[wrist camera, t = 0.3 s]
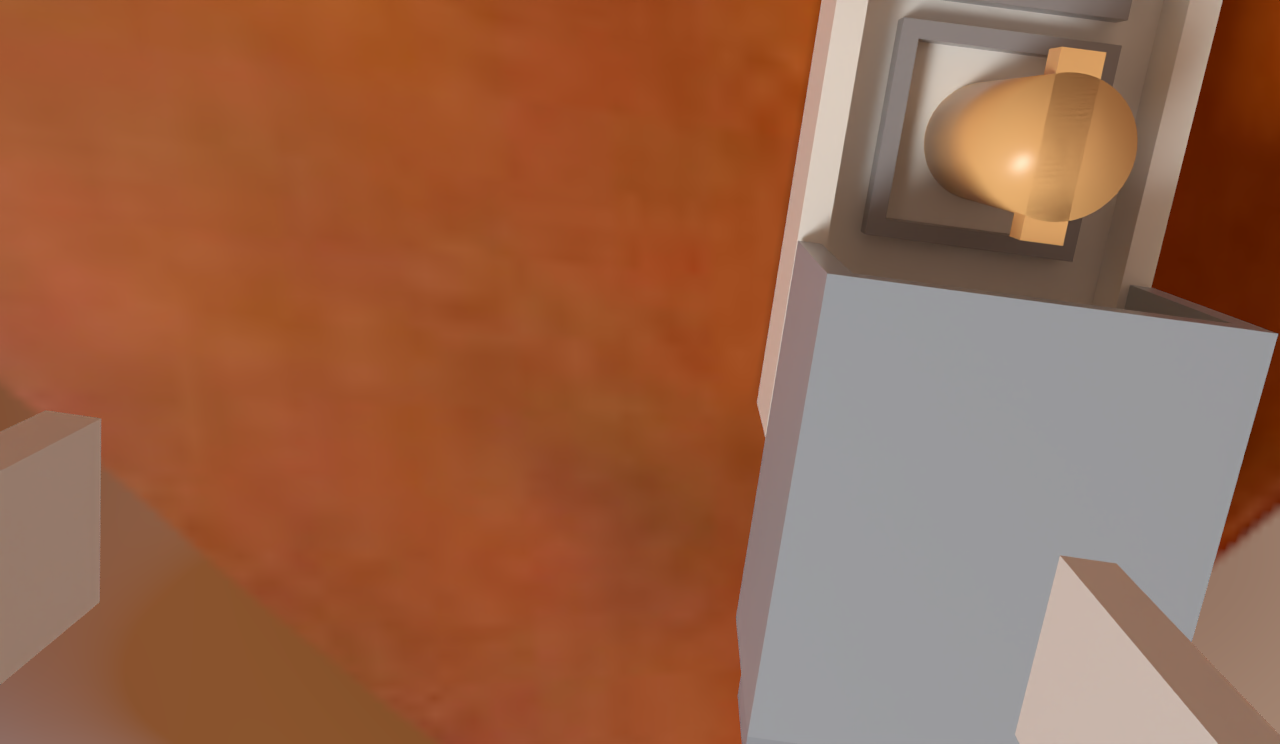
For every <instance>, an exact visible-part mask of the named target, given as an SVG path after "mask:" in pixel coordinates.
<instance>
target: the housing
mask: <svg viewBox="0 0 1280 744" xmlns="http://www.w3.org/2000/svg"><path fill="white" fill-rule="evenodd" d="M1222 1H1223V0H822V2H821V8H820V14H819V20H818V27H817V33H816V39H815V45H814V51H813V58H812V64H811V70H810V76H809V82H808V89H807V95H806V101H805V107H804V114H803V120H802V126H801V132H800V138H799V145H798V151H797V157H796V163H795V169H794V176H793V182H792V188H791V194H790V201H789V207H788V213H787V219H786V225H785V232H784V238H783V244H782V250H781V256H780V263H779V269H778V275H777V281H776V288H775V294H774V300H773V306H772V312H771V319H770V325H769V331H768V337H767V343H766V350H765V356H764V362H763V368H762V375H761V381H760V387H759V393H758V399H757V405H758V409H759V413H760V417H761V421H762V425H763V429H764V434H765V436H766V432H767V426H768V420H769V414H770V408H771V402H772V396H773V390H774V384H775V377H776V371H777V365H778V359H779V353H780V347H781V341H782V335H783V329H784V323H785V317H786V311H787V304H788V298H789V292H790V286H791V280H792V274H793V268H794V262H795V256H796V250H797V244H798V241H804V242H812V243H819V244H822V245H823V246H824V247H826V248H827V249H828V250H829V251H830V252H831V253H832V254H833V255H834V256H835V257H836V258H837V259H838V260H839V261H840V262H841V263H842V264H843V265H845V266H846V267H847V268H848V269H849V270H850V271H851V272H852V273H856V274H863V275H871V276H878V277H886V278H893V279H901V280H908V281H916V282H923V283H931V284H938V285H946V286H953V287H961V288H968V289H976V290H983V291H990V292H998V293H1005V294H1013V295H1020V296H1028V297H1035V298H1043V299H1050V300H1058V301H1065V302H1073V303H1080V304H1088V305H1095V306H1103V307H1110V308H1118V309H1124V308H1125V304H1126V300H1127V296H1128V292H1129V287H1130V285H1135V286H1142V287H1150V288H1151V287H1152V283H1153V279H1154V275H1155V271H1156V267H1157V263H1158V259H1159V255H1160V250H1161V246H1162V242H1163V238H1164V234H1165V230H1166V226H1167V222H1168V218H1169V214H1170V210H1171V206H1172V202H1173V198H1174V194H1175V190H1176V186H1177V182H1178V178H1179V174H1180V170H1181V166H1182V162H1183V158H1184V154H1185V150H1186V146H1187V142H1188V138H1189V134H1190V130H1191V126H1192V122H1193V118H1194V114H1195V110H1196V106H1197V102H1198V98H1199V94H1200V90H1201V86H1202V82H1203V78H1204V74H1205V70H1206V66H1207V62H1208V58H1209V54H1210V50H1211V46H1212V41H1213V37H1214V33H1215V29H1216V25H1217V21H1218V17H1219V13H1220V9H1221V5H1222ZM1057 47H1069V48H1077V49H1084V50H1092V51H1100V52H1107V53H1106V57H1105V62H1104V66H1103V71H1102V75H1101V80H1103V81H1105V82H1106V83H1108V84H1109V85H1111V86H1112V87H1113V88H1115V89H1116V90H1117V91H1118V92H1119V93H1120V94H1121V96H1122V97H1123V98H1124V99H1125V101H1126V102H1127V104H1128V106H1129V107H1130V109H1131V111H1132V114H1133V117H1134V119H1135V123H1136V128H1137V137H1138V141H1137V152H1136V158H1135V161H1134V165H1133V168H1132V170H1131V172H1130V175H1129V177H1128V178H1127V180H1126V182H1125V183H1124V185H1123V187H1122V188H1121V189H1120V190H1119V192H1118V193H1117V194H1116V195H1115V196H1114V197H1113V198H1112V199H1111V200H1110V201H1109V202H1108V203H1107V204H1105V205H1104V206H1103V207H1101V208H1100V209H1098V210H1097V211H1095V212H1093V213H1091V214H1089V215H1087V216H1085V217H1082V218H1079V219H1076V220H1071V221H1068V226H1067V230H1066V234H1065V239H1064V243H1063V246H1060V245H1052V244H1045V243H1037V242H1030V241H1022V240H1018V239H1015V238H1013V237H1010V236H1009V235H1010V230H1011V226H1012V221H1013V216H1014V213H1012V212H1009V211H1006V210H1002V209H999V208H995V207H992V206H989V205H985V204H982V203H978V202H975V201H971V200H968V199H965V198H962V197H959V196H956V195H954V194H952V193H950V192H949V191H947V190H946V189H944V188H943V187H942V186H941V185H940V184H939V183H938V182H937V181H936V180H935V178H934V177H933V175H932V174H931V172H930V170H929V168H928V166H927V163H926V159H925V154H924V137H925V131H926V128H927V125H928V122H929V120H930V118H931V116H932V114H933V112H934V111H935V109H936V108H937V107H938V105H939V104H940V103H941V102H942V101H943V100H944V99H945V98H946V97H947V96H949V95H950V94H951V93H953V92H954V91H956V90H958V89H960V88H962V87H964V86H967V85H970V84H974V83H978V82H986V81H995V80H1003V79H1012V78H1020V77H1028V76H1037V75H1044V71H1045V66H1046V61H1047V57H1048V52H1049V49H1051V48H1057Z"/></svg>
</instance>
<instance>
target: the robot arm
mask: <svg viewBox="0 0 1280 744" xmlns="http://www.w3.org/2000/svg"><path fill="white" fill-rule="evenodd" d="M100 485H101V418H95V417H88V416H81V415H74V414H67V413H60V412H53V411H44V412H41V413H39V414H37V415H35V416H33V417H31V418H29V419H27V420H24V421H22V422H20V423H18V424H16V425H14V426H11V427H9V428H7V429H5V430H3V431H1V432H0V685H1V684H2V683H3V682H4V681H5V680H7V679H8V678H9V677H10V676H11V675H13V674H14V673H15V672H16V671H17V670H18V669H20V668H21V667H22V666H23V665H24V664H26V663H27V662H28V661H29V660H31V659H32V658H33V657H34V656H35V655H37V654H38V653H39V652H40V651H41V650H43V649H44V648H45V647H46V646H47V645H49V644H50V643H51V642H52V641H53V640H55V639H56V638H57V637H58V636H59V635H61V634H62V633H63V632H64V631H65V630H67V629H68V628H69V627H70V626H71V625H73V624H74V623H75V622H76V621H77V620H79V619H80V618H81V617H82V616H84V615H85V614H86V613H87V612H88V611H89V610H91V609H92V608H93V607H94V606H96V605H97V604H98V603H99V602H100V498H101V496H100V494H101V489H100V487H101V486H100ZM1015 736H1016V738H1017V740H1018V742H1019V744H1280V735H1279V734H1278V733H1277V732H1276V731H1275V730H1274V729H1273V728H1272V727H1271V726H1270V725H1269V723H1268V722H1267V721H1266V720H1265V719H1264V718H1263V717H1262V716H1261V715H1260V714H1259V713H1258V712H1257V711H1256V710H1255V709H1254V708H1253V707H1252V706H1251V705H1250V704H1249V703H1248V701H1247V700H1246V699H1245V698H1244V697H1243V696H1242V695H1241V694H1240V693H1239V692H1238V691H1237V690H1236V689H1235V688H1234V687H1233V686H1232V685H1231V684H1230V682H1229V681H1228V680H1227V679H1226V678H1225V677H1224V676H1223V675H1222V674H1221V673H1220V672H1219V671H1218V670H1217V669H1216V668H1215V667H1214V666H1213V665H1212V663H1211V662H1210V661H1209V660H1207V658H1206V657H1205V656H1204V655H1203V654H1202V653H1201V652H1200V651H1199V650H1198V649H1197V648H1196V647H1195V646H1194V645H1193V643H1192V642H1191V641H1190V640H1189V639H1188V638H1187V637H1186V636H1185V635H1184V634H1183V633H1182V632H1181V631H1180V630H1179V629H1178V628H1177V627H1176V626H1175V624H1174V623H1173V622H1172V621H1171V620H1170V619H1169V618H1168V617H1167V616H1166V615H1165V614H1164V613H1163V612H1162V611H1161V610H1160V609H1159V608H1158V607H1157V606H1156V604H1155V603H1154V602H1153V601H1152V600H1151V599H1150V598H1149V597H1148V596H1147V595H1146V594H1145V593H1144V592H1143V591H1142V590H1141V589H1140V588H1139V587H1138V586H1137V584H1136V583H1135V582H1134V581H1133V580H1132V579H1131V578H1130V577H1129V576H1128V575H1127V574H1126V573H1125V572H1124V571H1123V570H1122V569H1121V568H1120V567H1119V566H1118V564H1117V563H1110V562H1103V561H1096V560H1089V559H1082V558H1075V557H1068V556H1061V555H1060V557H1059V561H1058V565H1057V569H1056V573H1055V577H1054V581H1053V585H1052V589H1051V593H1050V597H1049V601H1048V605H1047V609H1046V613H1045V617H1044V621H1043V625H1042V629H1041V633H1040V637H1039V640H1038V644H1037V648H1036V652H1035V656H1034V660H1033V664H1032V668H1031V672H1030V676H1029V680H1028V684H1027V688H1026V692H1025V696H1024V700H1023V704H1022V708H1021V712H1020V716H1019V720H1018V724H1017V728H1016V732H1015Z"/></svg>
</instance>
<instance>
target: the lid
mask: <svg viewBox="0 0 1280 744" xmlns="http://www.w3.org/2000/svg"><path fill="white" fill-rule="evenodd" d="M1277 337H1278V333H1275V332H1272V331H1270V330H1267V329H1264V328H1262V327H1259V326H1256V325H1253V324H1251V323H1248V322H1245V321H1242V320H1240V319H1237V318H1234V317H1232V316H1229V315H1226V314H1223V313H1221V312H1218V311H1215V310H1212V309H1210V308H1207V307H1204V306H1202V305H1199V304H1196V303H1193V302H1191V301H1188V300H1185V299H1182V298H1180V297H1177V296H1174V295H1172V294H1169V293H1166V292H1163V291H1161V290H1158V289H1155V288H1150V287H1142V286H1135V285H1130V287H1129V292H1128V296H1127V300H1126V304H1125V308H1124V309H1118V308H1110V307H1103V306H1095V305H1088V304H1080V303H1073V302H1065V301H1058V300H1050V299H1043V298H1035V297H1028V296H1020V295H1013V294H1005V293H998V292H990V291H983V290H976V289H968V288H961V287H953V286H946V285H938V284H931V283H923V282H916V281H908V280H901V279H893V278H886V277H878V276H871V275H863V274H856V273H852V272H851V271H850V270H849V269H848V268H847V267H846V266H845V265H843V264H842V263H841V262H840V261H839V260H838V259H837V258H836V257H835V256H834V255H833V254H832V253H831V252H830V251H829V250H828V249H827V248H826V247H824V246H823V245H822V244H819V243H812V242H804V241H798V244H797V250H796V256H795V262H794V268H793V274H792V280H791V286H790V292H789V298H788V304H787V311H786V317H785V323H784V329H783V335H782V341H781V347H780V353H779V359H778V365H777V371H776V377H775V384H774V390H773V396H772V402H771V408H770V414H769V420H768V426H767V432H766V438H765V444H764V451H763V457H762V463H761V469H760V475H759V481H758V487H757V493H756V499H755V505H754V511H753V517H752V524H751V530H750V536H749V542H748V548H747V554H746V560H745V566H744V572H743V578H742V584H741V590H740V597H739V603H738V609H737V615H736V623H737V634H738V644H739V655H740V665H741V679H740V685H739V691H738V704H739V715H740V727H741V739H742V744H1019V742H1018V740H1017V738H1016V736H1015V732H1016V728H1017V724H1018V720H1019V716H1020V712H1021V708H1022V704H1023V700H1024V696H1025V692H1026V688H1027V684H1028V680H1029V676H1030V672H1031V668H1032V664H1033V660H1034V656H1035V652H1036V648H1037V644H1038V640H1039V637H1040V633H1041V629H1042V625H1043V621H1044V617H1045V613H1046V609H1047V605H1048V601H1049V597H1050V593H1051V589H1052V585H1053V581H1054V577H1055V573H1056V569H1057V565H1058V561H1059V557H1060V555H1061V556H1068V557H1075V558H1082V559H1089V560H1096V561H1103V562H1110V563H1117V564H1118V566H1119V567H1120V568H1121V569H1122V570H1123V571H1124V572H1125V573H1126V574H1127V575H1128V576H1129V577H1130V578H1131V579H1132V580H1133V581H1134V582H1135V583H1136V584H1137V586H1138V587H1139V588H1140V589H1141V590H1142V591H1143V592H1144V593H1145V594H1146V595H1147V596H1148V597H1149V598H1150V599H1151V600H1152V601H1153V602H1154V603H1155V604H1156V606H1157V607H1158V608H1159V609H1160V610H1161V611H1162V612H1163V613H1164V614H1165V615H1166V616H1167V617H1168V618H1169V619H1170V620H1171V621H1172V622H1173V623H1174V624H1175V626H1176V627H1177V628H1178V629H1179V630H1180V631H1181V632H1182V633H1183V634H1184V635H1185V636H1186V637H1187V638H1188V639H1189V640H1190V641H1191V642H1192V639H1193V635H1194V632H1195V628H1196V624H1197V621H1198V617H1199V614H1200V610H1201V607H1202V603H1203V600H1204V596H1205V592H1206V589H1207V585H1208V582H1209V578H1210V575H1211V571H1212V568H1213V564H1214V561H1215V557H1216V553H1217V550H1218V546H1219V543H1220V539H1221V536H1222V532H1223V529H1224V525H1225V521H1226V518H1227V514H1228V511H1229V507H1230V504H1231V500H1232V497H1233V493H1234V489H1235V486H1236V482H1237V479H1238V475H1239V472H1240V468H1241V465H1242V461H1243V458H1244V454H1245V450H1246V447H1247V443H1248V440H1249V436H1250V433H1251V429H1252V426H1253V422H1254V418H1255V415H1256V411H1257V408H1258V404H1259V401H1260V397H1261V394H1262V390H1263V386H1264V383H1265V379H1266V376H1267V372H1268V369H1269V365H1270V362H1271V358H1272V355H1273V351H1274V347H1275V344H1276V340H1277Z"/></svg>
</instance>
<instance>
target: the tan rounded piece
mask: <svg viewBox="0 0 1280 744" xmlns="http://www.w3.org/2000/svg"><path fill="white" fill-rule="evenodd" d="M1106 53H1107V52H1100V51H1092V50H1084V49H1077V48H1069V47H1057V48H1051V49H1049V52H1048V57H1047V61H1046V66H1045V71H1044V75H1037V76H1028V77H1020V78H1012V79H1003V80H995V81H986V82H978V83H974V84H970V85H967V86H964V87H962V88H960V89H958V90H956V91H954V92H953V93H951V94H950V95H949V96H947V97H946V98H945V99H944V100H943V101H942V102H941V103H940V104H939V105H938V107H937V108H936V109H935V111H934V112H933V114H932V116H931V118H930V120H929V122H928V125H927V128H926V131H925V137H924V154H925V159H926V163H927V166H928V168H929V170H930V172H931V174H932V175H933V177H934V178H935V180H936V181H937V182H938V183H939V184H940V185H941V186H942V187H943V188H944V189H946V190H947V191H949V192H950V193H952V194H954V195H956V196H959V197H962V198H965V199H968V200H971V201H975V202H978V203H982V204H985V205H989V206H992V207H995V208H999V209H1002V210H1006V211H1009V212H1012V213H1014V216H1013V221H1012V226H1011V230H1010V235H1009V236H1010V237H1013V238H1015V239H1018V240H1022V241H1030V242H1037V243H1045V244H1052V245H1060V246H1063V243H1064V239H1065V234H1066V230H1067V226H1068V221H1071V220H1076V219H1079V218H1082V217H1085V216H1087V215H1089V214H1091V213H1093V212H1095V211H1097V210H1098V209H1100V208H1101V207H1103V206H1104V205H1105V204H1107V203H1108V202H1109V201H1110V200H1111V199H1112V198H1113V197H1114V196H1115V195H1116V194H1117V193H1118V192H1119V190H1120V189H1121V188H1122V187H1123V185H1124V183H1125V182H1126V180H1127V178H1128V177H1129V175H1130V172H1131V170H1132V168H1133V165H1134V161H1135V158H1136V152H1137V141H1138V137H1137V128H1136V123H1135V119H1134V117H1133V114H1132V111H1131V109H1130V107H1129V106H1128V104H1127V102H1126V101H1125V99H1124V98H1123V97H1122V96H1121V94H1120V93H1119V92H1118V91H1117V90H1116V89H1115V88H1113V87H1112V86H1111V85H1109V84H1108V83H1106V82H1105V81H1103V80H1101V75H1102V71H1103V66H1104V62H1105V57H1106Z"/></svg>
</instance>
